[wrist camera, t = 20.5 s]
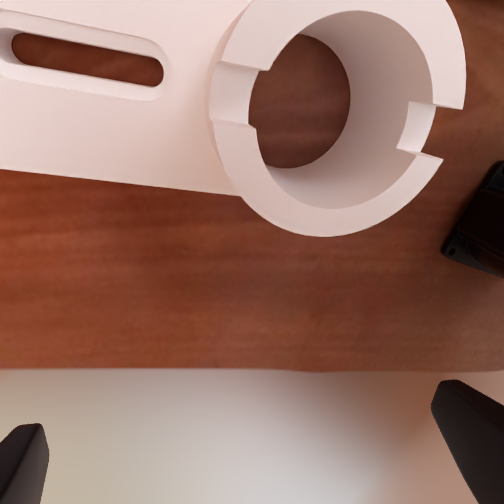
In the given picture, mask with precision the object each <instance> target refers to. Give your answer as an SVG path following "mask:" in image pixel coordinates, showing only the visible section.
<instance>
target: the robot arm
mask: <svg viewBox="0 0 504 504" xmlns="http://www.w3.org/2000/svg"><path fill="white" fill-rule="evenodd" d="M503 168H504V160H502V161H499V162H497V163H496V164H495V166H494V167H493V169H492V170H491V172H490V173H489V175H488V176H487V178H486V180H485V181H484V183H483V184H482V186H481V187H480V189H479V190H478V192H477V194H476V195H475V197H474V198H473V200H472V201H471V203H470V205H469V206H468V208H467V209H466V211H465V212H464V214H463V215H462V217H461V219H460V220H459V222H458V223H457V225H456V226H455V228H454V230H453V231H452V233H451V234H450V236H449V237H448V239H447V240H446V242H445V244H444V245H443V247H442V249H441V253H442V254H443V255H444V256H446V257H447V258H449V259H452V260H455V261H457V262H460V263H463V264H466V265H469V266H471V267H474V268H477V269H480V270H482V271H485V272H488V273H491V274H494V275H496V276H499V277H502V278H504V169H503ZM502 169H503V171H502ZM451 248H452V249H451ZM450 249H451V251H450V252H449V250H450ZM431 411H432V414H433V416H434V419H435V421H436V423H437V425H438V427H439V429H440V431H441V433H442V435H443V437H444V439H445V441H446V443H447V445H448V447H449V449H450V452H451V453H452V455H453V457H454V460H455V462H456V464H457V466H458V468H459V470H460V472H461V474H462V476H463V478H464V479H465V481H466V483H467V485H468V486H469V488H470V490H471V492H472V493H473V495H474V497H475V498H476V500H477V502H478V503H479V504H504V406H503V405H502V404H500V403H498V402H496V401H494V400H493V399H491V398H489V397H488V396H486V395H484V394H482V393H481V392H479V391H477V390H475V389H474V388H472V387H470V386H468V385H467V384H465V383H463V382H461V381H459V380H444V381H441V382H440V383H439V385H438V387H437V390H436V392H435V395H434V398H433V401H432V403H431ZM48 462H49V448H48V444H47V441H46V437H45V433H44V429H43V426H42V425H41V424H39V423H35V424H25V425H20V426H17V427H16V428H15V429H13V431H11V432H10V433H9V435H8V436H7V437H5V438H4V440H3V441H2V442H1V443H0V504H40V501H41V496H42V491H43V486H44V482H45V477H46V472H47V467H48Z"/></svg>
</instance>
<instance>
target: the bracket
mask: <svg viewBox="0 0 504 504" xmlns="http://www.w3.org/2000/svg"><path fill="white" fill-rule="evenodd" d="M18 33H29V34H34V35H39V36H45V37H50V38H55V39H60V40H65V41H70V42H75V43H80V44H86V45H91V46H96V47H101V48H106V49H111V50H116V51H121V52H127V53H132V54H137V55H142V56H147V57H152V58H155V59H157V60H159V62H160V63H161V64H162V67H163V70H164V77H163V80H162V82H161V83H160V84H159V85H158V86H156V87H151V86H145V85H140V84H134V83H128V82H123V81H117V80H111V79H106V78H100V77H94V76H89V75H83V74H77V73H72V72H66V71H60V70H55V69H49V68H43V67H38V66H32V65H27V64H24V63H22V62H21V61H19V60H18V59H17V58H16V57H15V55H14V53H13V51H12V47H11V42H12V39H13V37H14V36H15V35H16V34H18ZM296 34H303V35H308V36H311V37H313V38H316V39H318V40H320V41H322V42H323V43H324V44H326V45H327V46H328V47H329V48H331V49H332V50H333V51H334V53H335V54H336V55H337V56H338V58H339V59H340V61H341V62H342V64H343V66H344V68H345V71H346V73H347V77H348V80H349V86H350V109H349V114H348V118H347V121H346V124H345V126H344V129H343V131H342V133H341V135H340V136H339V138H338V139H337V141H336V142H335V144H334V145H333V146H332V147H331V148H330V149H329V150H328V151H327V152H326V153H325V154H324V155H323V156H321V157H320V158H318V159H317V160H315V161H313V162H312V163H309V164H307V165H304V166H301V167H297V168H288V169H287V168H276V167H272V166H269V165H266V164H264V162H263V159H262V157H261V153H260V150H259V146H258V141H257V133H256V129H255V128H253V127H252V126H251V125H249V124H248V110H249V101H250V96H251V91H252V88H253V85H254V82H255V79H256V77H257V75H258V72H259V71H267V70H269V69H270V67H271V65H272V64H273V62H274V60H275V59H276V57H277V56H278V54H279V53H280V51H281V50H282V49H283V48H284V47H285V45H286V44H287V43H288V42H289V41H290V40H291V39H292V38H293V37H294V36H295V35H296ZM465 87H466V62H465V53H464V47H463V42H462V38H461V34H460V31H459V28H458V25H457V22H456V19H455V17H454V15H453V13H452V11H451V9H450V7H449V5H448V3H447V2H446V0H0V169H7V170H16V171H25V172H33V173H42V174H51V175H60V176H68V177H77V178H86V179H95V180H103V181H112V182H121V183H130V184H138V185H147V186H156V187H165V188H173V189H182V190H191V191H200V192H208V193H217V194H226V195H235V196H241V197H242V198H243V200H244V201H245V202H246V203H247V204H248V205H249V206H250V207H251V208H252V209H253V210H254V211H255V212H257V213H258V214H259V215H260V216H262V217H263V218H264V219H266V220H268V221H269V222H271V223H272V224H274V225H276V226H278V227H280V228H283V229H285V230H288V231H291V232H294V233H298V234H302V235H308V236H319V237H329V236H339V235H346V234H350V233H354V232H358V231H361V230H363V229H366V228H369V227H371V226H373V225H375V224H378V223H379V222H381V221H383V220H385V219H387V218H388V217H390V216H391V215H393V214H394V213H396V212H397V211H399V210H400V209H401V208H403V207H404V206H405V205H406V204H408V203H409V202H410V201H411V200H412V199H413V198H414V197H415V196H416V195H417V194H418V193H419V192H420V191H421V190H422V189H423V188H424V186H425V185H426V184H427V183H428V182H429V180H430V179H431V178H432V176H433V175H434V174H435V172H436V171H437V169H438V167H439V166H440V164H441V163H442V161H443V159H441V158H438V157H434V156H431V155H428V154H425V153H422V152H421V150H422V148H423V146H424V144H425V141H426V139H427V136H428V134H429V131H430V129H431V125H432V122H433V118H434V115H435V110H436V106H437V107H445V108H454V109H463V104H464V97H465Z"/></svg>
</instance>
